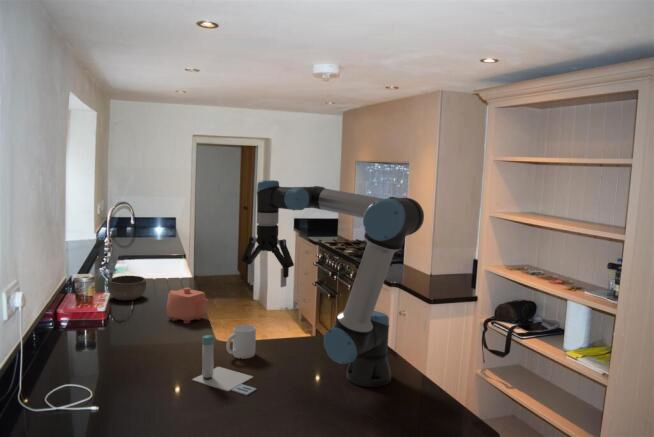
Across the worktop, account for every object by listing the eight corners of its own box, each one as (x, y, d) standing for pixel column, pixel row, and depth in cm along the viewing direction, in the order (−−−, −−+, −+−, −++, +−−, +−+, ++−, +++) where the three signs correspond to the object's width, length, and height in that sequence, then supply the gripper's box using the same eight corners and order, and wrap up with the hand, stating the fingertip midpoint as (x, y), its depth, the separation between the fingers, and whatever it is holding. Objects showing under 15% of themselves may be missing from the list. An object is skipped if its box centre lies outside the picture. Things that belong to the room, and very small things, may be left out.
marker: (216, 377, 175) (216, 336, 173) (208, 381, 171) (208, 339, 170) (207, 374, 176) (207, 334, 175) (199, 378, 173) (199, 337, 171)
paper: (253, 377, 176) (253, 376, 176) (228, 391, 165) (228, 390, 165) (218, 367, 184) (218, 366, 184) (191, 380, 172) (191, 379, 172)
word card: (256, 389, 167) (256, 388, 167) (246, 395, 163) (246, 394, 163) (241, 385, 170) (241, 383, 170) (231, 390, 166) (231, 389, 166)
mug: (232, 363, 188) (233, 335, 187) (219, 356, 194) (220, 329, 192) (259, 355, 196) (260, 328, 195) (246, 349, 202) (247, 323, 201)
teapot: (216, 320, 236) (216, 289, 234) (196, 327, 225) (196, 295, 223) (179, 311, 246) (180, 282, 245) (158, 318, 235) (159, 287, 234)
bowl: (138, 303, 257) (138, 283, 255) (102, 302, 257) (102, 282, 256) (151, 294, 274) (151, 275, 273) (116, 293, 274) (116, 274, 273)
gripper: (304, 226, 182) (302, 286, 184) (244, 221, 193) (243, 278, 195) (293, 228, 176) (292, 290, 178) (231, 222, 187) (231, 282, 189)
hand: (266, 284), depth 187 cm, fingers open, 13 cm apart
